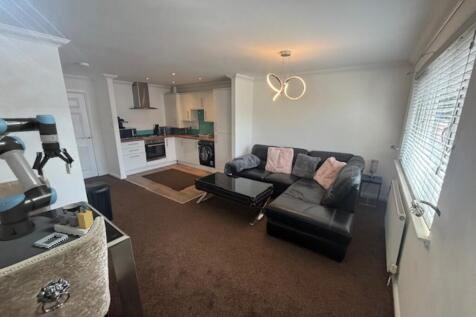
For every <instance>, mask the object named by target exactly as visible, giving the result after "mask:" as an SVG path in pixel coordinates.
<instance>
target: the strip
mask: <svg viewBox="0 0 476 317" xmlns="http://www.w3.org/2000/svg"><path fill="white" fill-rule="evenodd" d="M63 212H64V213H63ZM77 214H78V213H77V212H69V211H67V210H64V211H63V210H62V213H59V214H58V221H59V222H58V223H56V224H54V225H53V228H54V231H55V232H56V233H61V232H62V233H61V234H66V233H67V234H66V235H71V234H73V235H72V236H76V235H79V236H78V237H81V236H83V235H84V234H86V233H87V232H88V230H89V229H90V227H89V228H88V229H86V230H85V229H80V226H79V221H78V216H77Z"/></svg>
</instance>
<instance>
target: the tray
mask: <svg viewBox="0 0 476 317" xmlns="http://www.w3.org/2000/svg"><path fill="white" fill-rule="evenodd" d="M54 236H56V238H57V239H55V240H54V241H52V242H50V243H46V242H47V241H49V240H51V239H53V238H55V237H54ZM52 237H53V238H52ZM60 237H61V238H60ZM50 238H51V239H50ZM66 238H67V239H68V238H69V234H66V233H61V232H57V231H55V232H53V233H51V234H49V235H47V236H45V237H43V238H40V239H39V240H37V241H35V242H34V246H35V247H38V246H39V247H38V248H42V247H45V248H44V249H46V248H49V247H51V246H52V245H54V244H56V243H58V242H60V241H62V240H63V241H65V240H67V239H66ZM48 239H49V240H48ZM64 239H65V240H64ZM63 241H62V242H63ZM60 243H61V242H60ZM58 244H59V243H58ZM56 245H57V244H56ZM54 246H55V245H54ZM51 248H52V247H51ZM49 249H50V248H49Z"/></svg>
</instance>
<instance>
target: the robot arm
mask: <svg viewBox="0 0 476 317" xmlns="http://www.w3.org/2000/svg"><path fill="white" fill-rule="evenodd" d="M25 132H27V133H28V132H38V133H39V139H40V142H41V149H42V151H36V156H35V158H34V162H33V164H32V166H31V165H30V163H29V162H28V161H27V159H26V158H25V156H24V154H25V151H26V144H25V142H24V141H23V139H22V138H20V137H18V136H16V135H10V134H11V133H25ZM61 153H62V154H61ZM54 158H59V159H61V161H64V162H65V170H66V174H68V175H70V174H72V170H71V169H72V164H73V163H74V162H75V160H74V159H73V157H72V156H71V155H70V154H69V152H68V150H67V148H65V147H63V148H61V144H60V142H59V134H58V130H57V123H56V119H55V116H54V115H53V114H36V115H35V117H11V118H10V117H3V118H2V117H0V160H3V161H5V163H6V164H7V166H8V168H9V169H10V170H11V172H12V173H13V175H14V176H15V178H16V179H17V182H19V184H20V185H21V187H22V188H23V190H24V191H23V193H15V194H10V195H6V196H5V197H2V198H0V240H1V241H12V240H16V239H20V238H23V237H26V236H27V235H29V234H32V233H33V232H35V231H36V230H37V224H36V223H35V221H34V220H33V219H32V218H31V216H30V213H33V212H35V211H38V210H41V209H44V208H48V207H49V206H51V205H54V204H55V203H56V202H57V200H58V194H57V190H56V189H55V188H54V187H52V186H50V187H48V185H47V184H45V183H42V182H41V181H43V182H45V181H47V178H46V177H47V176H46V173H45V169H43V168H44V167H45V166H46V164H47V162H48V161H49V160H50V159H54ZM34 170H36V171H37V174H36V172H35V171H34ZM38 176H40V179H39V177H38ZM40 180H41V181H40Z"/></svg>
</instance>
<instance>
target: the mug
mask: <svg viewBox="0 0 476 317" xmlns="http://www.w3.org/2000/svg"><path fill="white" fill-rule="evenodd" d="M81 207H82V208H83V209H86V210H87V208H86V206H85V205H80V203H79V202H73V203H67V204H66V205H64V206H62V209H61V210H62V213H64V212H63V211H64V210H67V211H69V212H77V213H80V212H81Z"/></svg>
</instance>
